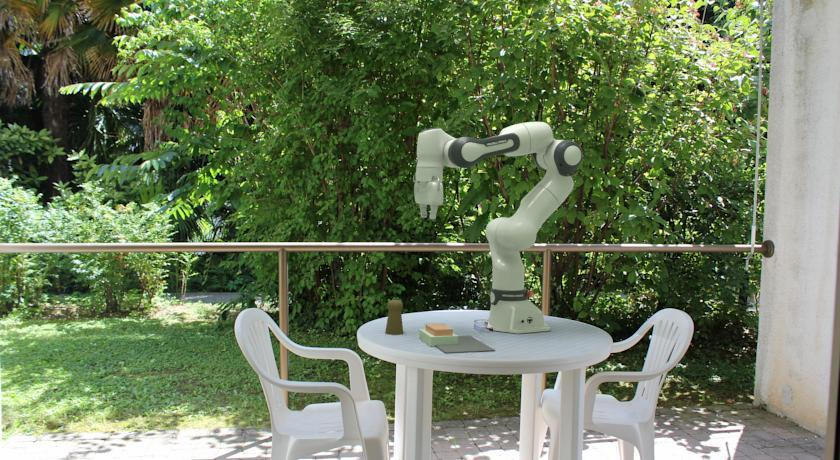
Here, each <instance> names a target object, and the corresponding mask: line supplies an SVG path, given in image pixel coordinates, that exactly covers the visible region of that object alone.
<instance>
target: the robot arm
mask: <svg viewBox="0 0 840 460" xmlns="http://www.w3.org/2000/svg"><path fill="white" fill-rule="evenodd" d="M416 144H417V145H416V157H417V163H416V167H415V168H416V170H415V172H414V174H413V177H412V181H413V183H414V187H413V188H414V189H413V191H414V192H413V193H414V201H415V204H418V205H419V209H420V218H422V219H423V218H425V219H427V217H429V219H430V220H436V218H437V212H438V209H439V206H442V205H443V203H444V186H443V185H444V184H443V181H444V180H443V176H444V172H443V171H444V170H443V169H444V166H445V167H448V168H453V169H454V168H455V169H457V168H462V169H470V168H472V167H474V166H476V165H477V164H478V163H480V162H481V161H482V160H484V159H488V158H492V157H495V156H500V155H504V156H506V157H521V156H527V155H530V154H531V155H532V160H533V162H534V165H535V166H536V167H538V169H540V170H543V171H546V172H545V174H544V176H543V178H542V179H541V180H540V181H539V182H537V184H536V185H535V186H534V187H533V188H532V189H531V190H530V191H529V192H528V193H527V194H526V195H525V196H524V197H523V198H522V199H521V200H520V204H519V207H518V208H517V210H516V211H515V213H514V214H513V215H512V216H510V217H506V216H501V217H500V216H499V217H497V218H494V219H492V220H490V221H489V222H488V223H487V225H486V227H485V233H484V234H485V238H486V239H487V241H488V245H489V251H490V255H491V256H490V257H491V262H492V279H491V280H492V283H491V286H492V287H491V288H490V294H489V295H490V310H489V316H488V320H487V323H488V322H489V324H490V325H491V326H492V327H493V330H492V331H496V332H502V333H511V334H529V333H539V332H549V331H551V327H550V325H549V324H546V323H545V317H544V316H545V315H544V313H543V311H542V310H541V309H540V308H539V307H538V306H536V305H535V304H534V303H533V302H532V301H530V300H529V297H530V298H532V297H534V296H535V294H534V293H533V291H531V290H527V289H525V266H524V263H523V261H522V258H521V251H524V250H525V251H526V250H528V249H530V248H532V247H533V246H534V244H535V243H536V239H537V234H538V232H539V231H540V229H541V227H542V225H543V224H545V222H546V221H547V219H549V217H551V216H552V214H553V213H554V212H555V211H556V210H557V209H559V207H560V206H561V205H562V204H563V203H564V202H565V200H567V198H568V197H569V195H570V194H571V192H572V191H573V189H574V187H575V183H574V179H573V177H572V176H574V175H575V174H576V173H577V171H578V168H579V167H580V165H581V164H582V162H583V159H584V150H583V148H582V146H581V145H580V144H579V143H577V142H576V141H573V140H570V139H556V138H554V131H553V129H552V127H551V126H550V125H549V123H547V122H546V121H527V122H522V123H521V122H520V123H516V124H513V125H512V124H511V125H510V126H507V127H504V128H502V130H500V132H499V134H498V135H495V136H490V137H486V138H481V139H479V138H475V137H472V136H471V137H470V136H462V137H458V138H456V137H453V136H452V135H450V134H448V133H446V132H445V131H444V130H443V129H442V128H441V127H433V128H432V127H431V128H425V129H422V130H421V131H419V133H418V137H417V143H416ZM428 205H429V207H430V212H429V216H428V212H427V208H428V207H427V206H428Z"/></svg>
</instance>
